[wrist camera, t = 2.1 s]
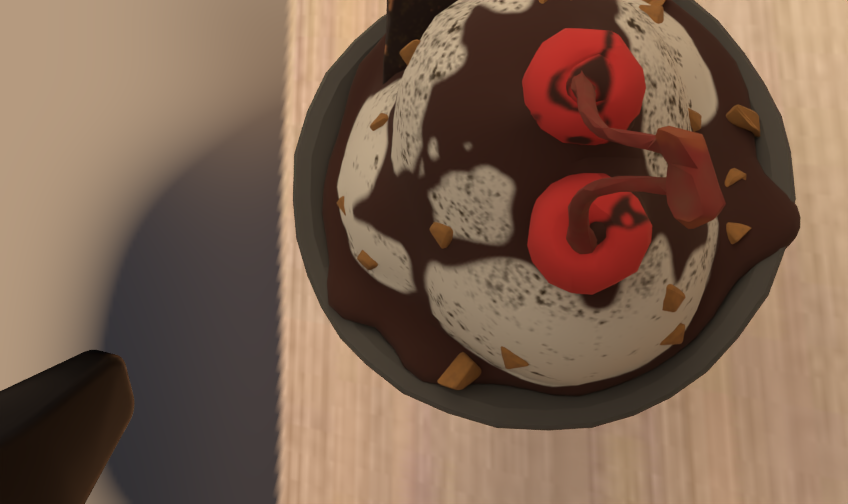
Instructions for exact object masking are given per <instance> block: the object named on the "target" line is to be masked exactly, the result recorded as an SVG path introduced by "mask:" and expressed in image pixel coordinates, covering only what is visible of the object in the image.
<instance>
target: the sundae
mask: <svg viewBox="0 0 848 504" xmlns="http://www.w3.org/2000/svg"><path fill="white" fill-rule="evenodd" d="M795 199H796V197H795V187H794V178H793V168H792V158H791V151H790V147H789V143H788V139H787V135H786V131H785V128H784V124H783V120H782V116H781V114H780V112H779V110H778V108H777V106H776V104H775V103H774V101H773V99H772V97H771V95H770V93H769V91H768V89H767V87H766V85H765V83H764V82H763V80H762V79H761V77H760V76H759V74H758V73H757V71H756V70H755V68H754V67H753V65H752V64H751V62H750V61H749V59H748V58H747V56H746V55H745V53H744V52H743V51H742V49H741V48H740V47H739V46H738V44H737V43H736V42H735V41H734V39H733V38H732V37H731V36H730V35H729V33H728V32H727V31H726V30H725V28H724V27H723V26H722V25H721V24H720V22H719V21H718V20H717V19H716V18H714V17H713V16H712V15H711V14H710V13H708V12H707V11H706V10H705V9H704V8H702V7H701V6H700V5H699V4H698V3H696V2H695V1H694V0H387V14H386V15H384V16H382V17H381V18H380V19H378V20H377V21H376V22H375V23H374V24H373V25H372V26H370V27H369V28H368V29H367V30H366V31H365V32H364V33H362V34H361V35H360V36H359V37H358V38H357V39H356V40H354V41H353V42H352V44H351V45H350V46H349V47H348V48H347V49H346V50H345V52H344V53H343V54H342V55H341V56H340V57H339V58H338V60H337V61H336V62H335V63H334V64H333V65H332V66H331V68H330V69H329V70H328V71H327V72H326V74H325V76H324V78H323V80H322V82H321V84H320V86H319V88H318V90H317V92H316V94H315V96H314V99H313V101H312V103H311V105H310V107H309V109H308V111H307V114H306V117H305V120H304V124H303V127H302V130H301V134H300V137H299V140H298V144H297V147H296V150H295V154H294V181H293V206H294V217H295V228H296V238H297V242H298V245H299V249H300V252H301V255H302V259H303V262H304V266H305V269H306V273H307V276H308V278H309V280H310V283H311V285H312V287H313V289H314V292H315V294H316V296H317V299H318V301H319V303H320V306H321V308H322V309H323V311H324V313H325V314H326V316H327V317H328V319H329V321H330V322H331V324H332V325H333V327H334V329H335V330H336V332H337V334H338V335H339V337H340V338H341V339H342V340H343V341H344V342H345V343H346V344H347V346H348V347H349V348H350V349H351V350H352V351H353V352H354V353H355V354H356V355H357V356H358V357H359V358H360V359H361V360H362V361H363V362H364V363H365V364H366V365H367V366H369V367H370V368H371V369H372V370H374V371H375V372H376V373H378V374H379V375H380V376H381V377H383V378H384V379H385V380H386V381H388V382H389V383H390V384H391V385H393V386H394V387H395V388H397V389H398V390H399V391H400V392H402V393H403V394H405V395H408V396H410V397H412V398H414V399H417V400H419V401H421V402H423V403H426V404H428V405H430V406H432V407H435V408H437V409H439V410H442V411H444V412H446V413H449V414H452V415H455V416H459V417H462V418H466V419H469V420H472V421H476V422H479V423H482V424H486V425H489V426H493V427H496V428H511V429H531V430H562V429H578V428H592V427H596V426H599V425H603V424H606V423H610V422H613V421H617V420H620V419H624V418H627V417H630V416H634V415H636V414H638V413H640V412H642V411H644V410H646V409H648V408H650V407H652V406H655V405H657V404H659V403H661V402H663V401H665V400H667V399H669V398H671V397H672V396H674V395H675V394H677V393H678V392H679V391H681V390H682V389H684V388H685V387H686V386H688V385H689V384H691V383H692V382H694V381H695V380H696V379H698V378H699V377H701V376H702V375H703V374H705V373H706V372H707V371H708V370H709V369H710V368H711V367H712V366H713V365H714V364H715V363H716V362H717V361H718V359H719V358H720V357H721V356H722V355H723V354H724V353H725V352H726V351H727V350H728V348H729V347H730V346H731V345H732V344H733V343H734V342H735V341H736V340H737V339H738V337H739V336H740V334H741V333H742V332H743V330H744V329H745V327H746V326H747V325H748V323H749V322H750V320H751V319H752V317H753V316H754V315H755V313H756V312H757V310H758V309H759V308H760V306H761V305H762V303H763V302H764V301H765V299H766V298H767V296H768V295H769V292H770V289H771V286H772V284H773V281H774V278H775V276H776V273H777V270H778V267H779V265H780V262H781V259H782V256H783V254H784V251H785V249H786V248H787V247H788V246H789V245H790V244H791V242H792V241H793V240H794V239H795V238H796V236H797V234H798V231H799V229H800V215H799V211H798V208H797V206H796V204H795Z"/></svg>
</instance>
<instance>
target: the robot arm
mask: <svg viewBox="0 0 848 504" xmlns="http://www.w3.org/2000/svg"><path fill="white" fill-rule="evenodd" d="M133 411H134V396H133V392H132V388H131V384H130V380H129V376H128V372H127V369H126V364H125V362H124V360H123V359H122V358H121V357H120V356H118V355H115V354H111V353H107V352H103V351H99V350H89V351H86V352H83V353H81V354H79V355H77V356H75V357H72V358H70V359H68V360H66V361H64V362H62V363H60V364H57V365H55V366H53V367H51V368H49V369H47V370H45V371H43V372H40V373H38V374H36V375H34V376H32V377H30V378H28V379H26V380H23V381H21V382H19V383H17V384H15V385H13V386H11V387H8V388H7V389H4V390H2V391H0V504H85V502H86V500H87V498H88V497H89V495H90V493H91V491H92V489H93V488H94V486H95V484H96V482H97V480H98V478H99V477H100V475H101V473H102V471H103V469H104V467H105V466H106V464H107V462H108V460H109V458H110V456H111V455H112V453H113V451H114V449H115V447H116V445H117V444H118V442H119V440H120V438H121V436H122V434H123V433H124V430H125V429H126V427H127V425H128V423H129V421H130V419H131V417H132V414H133Z"/></svg>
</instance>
